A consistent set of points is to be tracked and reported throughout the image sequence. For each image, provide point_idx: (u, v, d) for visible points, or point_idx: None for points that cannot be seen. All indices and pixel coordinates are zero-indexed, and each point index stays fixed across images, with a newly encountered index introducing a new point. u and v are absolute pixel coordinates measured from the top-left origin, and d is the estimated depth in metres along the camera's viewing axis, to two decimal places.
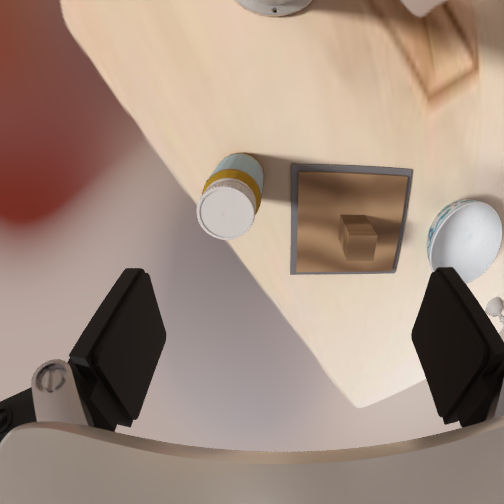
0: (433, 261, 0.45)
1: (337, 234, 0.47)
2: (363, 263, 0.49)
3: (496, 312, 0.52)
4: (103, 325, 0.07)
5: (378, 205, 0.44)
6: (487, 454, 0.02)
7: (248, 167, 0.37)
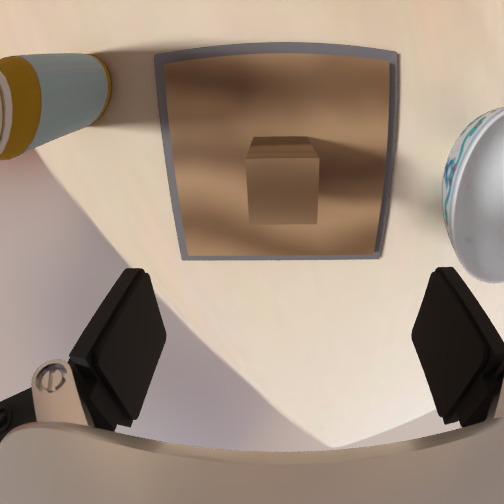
0: (454, 234, 0.21)
1: None
2: (315, 238, 0.26)
3: None
4: (103, 325, 0.07)
5: (333, 116, 0.21)
6: (487, 454, 0.02)
7: (45, 55, 0.13)
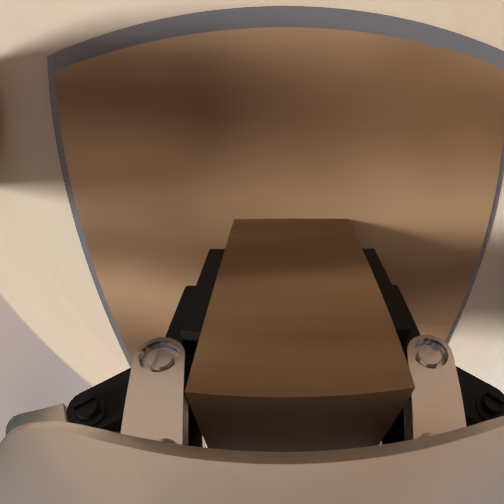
0: None
1: None
2: None
3: None
4: (208, 300, 0.08)
5: (406, 177, 0.09)
6: (487, 454, 0.02)
7: None
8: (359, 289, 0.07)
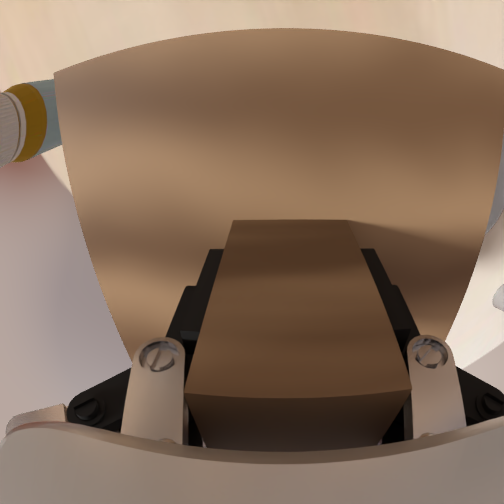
0: None
1: None
2: None
3: None
4: (208, 300, 0.08)
5: (405, 178, 0.09)
6: (487, 454, 0.02)
7: (48, 82, 0.19)
8: (357, 290, 0.07)
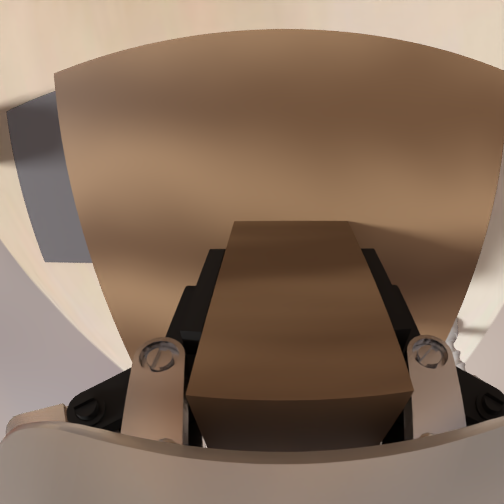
0: None
1: None
2: None
3: None
4: (208, 300, 0.08)
5: (406, 179, 0.09)
6: (487, 454, 0.02)
7: None
8: (359, 292, 0.07)
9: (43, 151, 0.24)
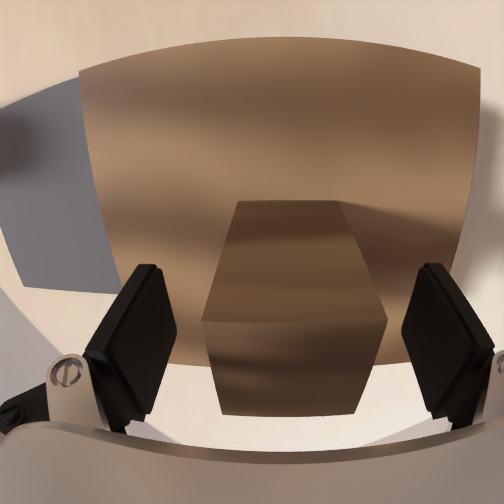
0: None
1: None
2: None
3: None
4: (119, 319, 0.07)
5: (388, 164, 0.11)
6: (487, 454, 0.02)
7: None
8: (343, 251, 0.09)
9: (13, 167, 0.20)
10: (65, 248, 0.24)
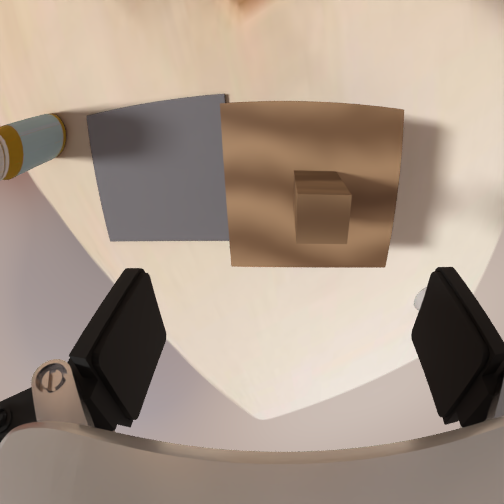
0: None
1: (291, 204, 0.29)
2: (338, 253, 0.32)
3: None
4: (103, 325, 0.07)
5: (358, 155, 0.26)
6: (487, 454, 0.02)
7: (25, 122, 0.28)
8: (338, 183, 0.24)
9: (122, 151, 0.36)
10: (159, 208, 0.40)
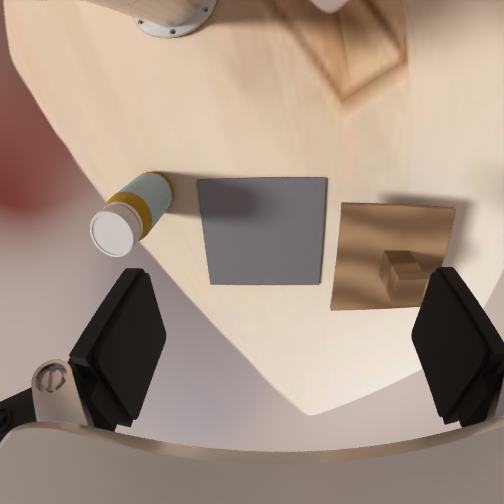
0: None
1: (378, 271, 0.41)
2: None
3: None
4: (103, 325, 0.07)
5: (423, 240, 0.38)
6: (487, 454, 0.02)
7: (144, 188, 0.39)
8: (416, 266, 0.36)
9: (233, 214, 0.47)
10: (261, 261, 0.51)
